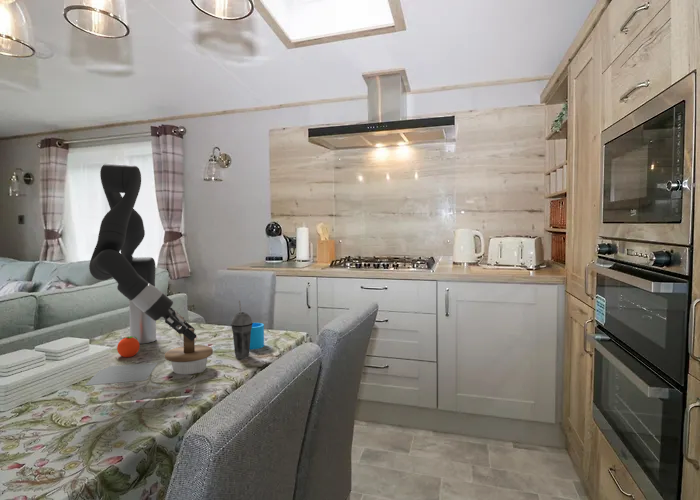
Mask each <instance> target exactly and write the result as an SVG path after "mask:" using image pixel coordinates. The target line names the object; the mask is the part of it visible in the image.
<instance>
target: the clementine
mask: <svg viewBox="0 0 700 500" xmlns="http://www.w3.org/2000/svg"><path fill="white" fill-rule="evenodd" d="M135 338H136V337H135ZM135 338H133V337H130V336H125V337H124V338H122V339H121V340H119V342H118V344H117V348H116V349H117V353H118V354H119V355H120V356H121V357H123V358H130V357H134V356H135V355H137V354H138V352H139V351H140V345H141V344H139V342H138V339H137V338H136V339H135Z"/></svg>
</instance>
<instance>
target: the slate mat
mask: <svg viewBox="0 0 700 500" xmlns="http://www.w3.org/2000/svg"><path fill="white" fill-rule="evenodd" d="M157 364H158V362H149V363H133V364H121V365H108V366H109V367H108V368H106V369H103V370H101V369H99V371H97V372H96V373H95V374H94V375H93V376H92V377H91V378H90V379H89V380H88V381H87V382H86V383H85V384H84V386H85V387H86V386H97V385H106V384H110V385H111V384H120V383H129V382H132V383H133V382H143V381H147V380H148V378H149V377H150V376H151V374H152V372H153V371H154V370H155V368H156V366H157Z"/></svg>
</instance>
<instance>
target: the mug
mask: <svg viewBox="0 0 700 500" xmlns="http://www.w3.org/2000/svg"><path fill="white" fill-rule="evenodd" d="M252 323H253V324H252V329H251V337H250V350H258V349H263V347H264V346H265V324H264V323H261V322H252Z"/></svg>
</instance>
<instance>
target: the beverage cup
mask: <svg viewBox="0 0 700 500" xmlns="http://www.w3.org/2000/svg"><path fill="white" fill-rule="evenodd" d="M238 307H239V312H238V313H236V314H235V315H234V316H233V317H232V319H231V324H230V327H231V331H232V337H233V339H232V340H233V346H234V354H235V358H236V359H239V360H242V359H243V360H244V359H248V358H249V357H250V352H251V351H250V350H251V349H250V337H251V329H252V324H253V323H254V322H253V319H252V317H251V316H250V315H249V314H248V313H247V312H242V307H241V299H239V300H238Z"/></svg>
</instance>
